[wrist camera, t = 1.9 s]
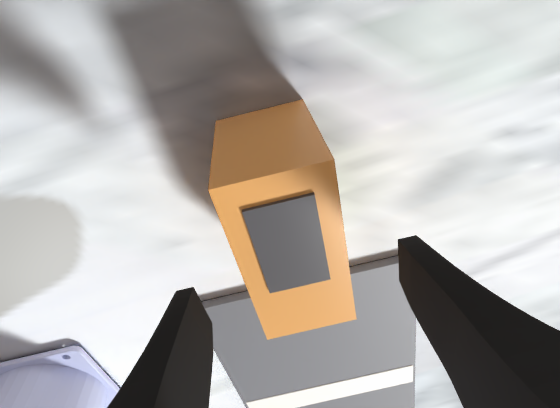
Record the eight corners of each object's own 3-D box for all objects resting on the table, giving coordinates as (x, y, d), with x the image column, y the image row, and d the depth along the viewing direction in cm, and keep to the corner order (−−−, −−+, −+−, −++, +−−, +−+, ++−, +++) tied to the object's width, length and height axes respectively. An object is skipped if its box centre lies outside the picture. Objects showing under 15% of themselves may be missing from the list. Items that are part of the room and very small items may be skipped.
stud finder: (259, 249, 20) (267, 342, 15) (215, 120, 16) (207, 192, 11) (326, 233, 20) (357, 322, 15) (302, 98, 16) (335, 161, 11)
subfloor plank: (269, 442, 34) (269, 450, 33) (193, 303, 22) (192, 312, 22) (411, 410, 34) (414, 418, 33) (412, 252, 22) (417, 259, 21)
